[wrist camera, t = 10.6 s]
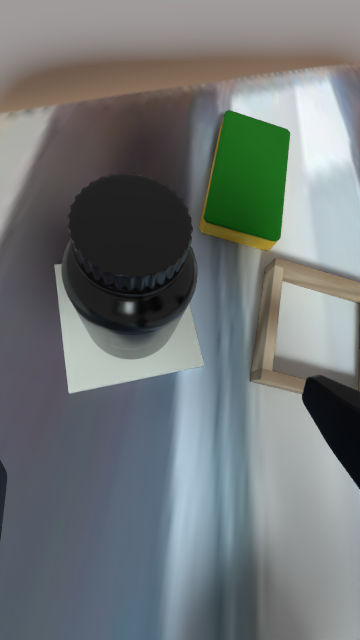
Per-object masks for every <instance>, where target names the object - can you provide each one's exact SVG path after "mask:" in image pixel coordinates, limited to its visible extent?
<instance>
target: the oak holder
mask: <svg viewBox="0 0 360 640" xmlns="http://www.w3.org/2000/svg"><path fill="white" fill-rule="evenodd" d="M282 281H285V282H288V283H291V284H295V285H298V286H302V287H305V288H309V289H312V290H315V291H319V292H322V293H326V294H329V295H332V296H336V297H339V298H343V299H346V300H349V301H353V302H356V303H360V283H359V282H356V281H353V280H349V279H346V278H343V277H340V276H336V275H333V274H330V273H326V272H323V271H320V270H316V269H313V268H310V267H306V266H303V265H300V264H296V263H293V262H290V261H286V260H283V259H280V258H277V257H276V258H275V259H274V260H273V261H272V262H271V263H270V264H269V265H268V266H267V267H266V268H265V275H264V282H263V290H262V297H261V304H260V312H259V319H258V326H257V334H256V341H255V349H254V356H253V363H252V371H251V378H250V381H252V382H256V383H260V384H264V385H267V386H271V387H275V388H279V389H283V390H287V391H291V392H295V393H299V394H303V390H304V386H305V382H306V379H302V378H298V377H294V376H290V375H286V374H282V373H278V372H275V371H272V369H273V360H274V351H275V342H276V333H277V324H278V315H279V306H280V297H281V288H282ZM359 392H360V351H359Z"/></svg>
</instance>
